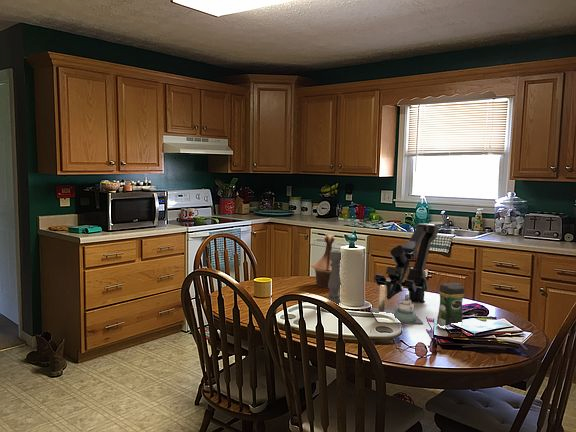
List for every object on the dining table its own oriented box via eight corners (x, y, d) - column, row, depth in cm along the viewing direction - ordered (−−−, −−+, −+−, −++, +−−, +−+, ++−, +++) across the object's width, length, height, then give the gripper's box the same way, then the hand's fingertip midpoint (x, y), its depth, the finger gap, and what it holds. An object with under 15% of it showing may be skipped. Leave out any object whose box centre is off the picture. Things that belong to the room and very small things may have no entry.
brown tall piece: (343, 290, 254) (346, 237, 251) (310, 289, 254) (313, 235, 251) (340, 282, 271) (343, 232, 268) (309, 281, 271) (312, 231, 269)
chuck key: (413, 312, 211) (414, 286, 210) (413, 316, 204) (415, 290, 203) (378, 308, 214) (380, 283, 213) (377, 312, 208) (379, 287, 207)
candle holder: (331, 307, 224) (334, 252, 221) (324, 303, 229) (327, 250, 226) (343, 305, 227) (345, 252, 224) (335, 302, 232) (338, 249, 229)
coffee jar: (452, 324, 206) (456, 280, 204) (465, 330, 199) (468, 285, 197) (433, 325, 203) (436, 281, 201) (444, 332, 196) (448, 286, 194)
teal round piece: (412, 317, 213) (413, 309, 213) (418, 324, 204) (419, 315, 204) (391, 316, 213) (392, 308, 213) (396, 323, 204) (397, 314, 204)
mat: (410, 310, 223) (411, 309, 223) (423, 324, 204) (423, 322, 204) (369, 309, 223) (369, 307, 223) (377, 322, 204) (377, 321, 204)
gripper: (376, 256, 223) (363, 284, 216) (415, 262, 212) (402, 292, 205) (384, 270, 230) (371, 298, 223) (421, 277, 219) (409, 307, 212)
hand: (387, 298), depth 216 cm, fingers closed
